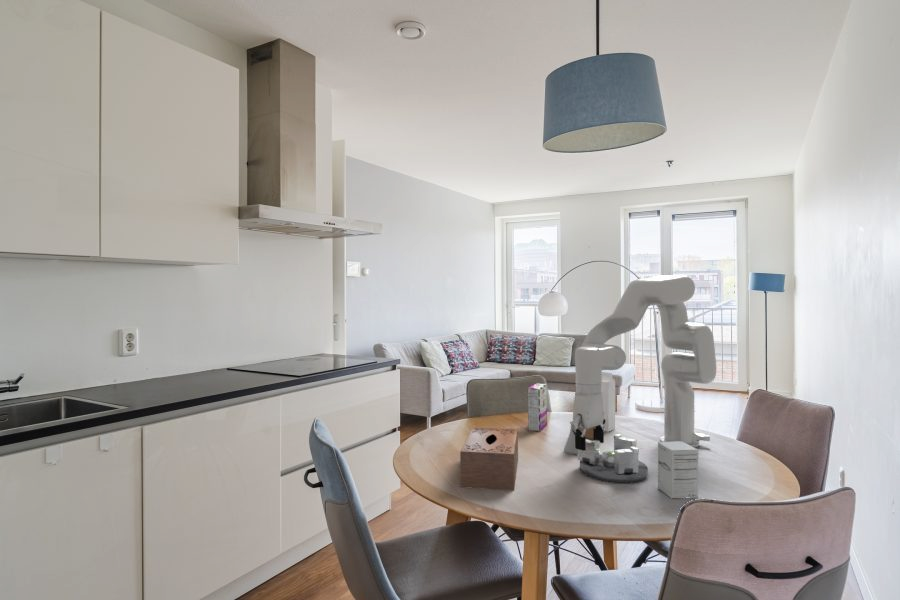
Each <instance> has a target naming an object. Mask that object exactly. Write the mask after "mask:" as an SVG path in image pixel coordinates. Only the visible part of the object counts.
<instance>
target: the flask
mask: <svg viewBox="0 0 900 600" xmlns="http://www.w3.org/2000/svg"><path fill="white" fill-rule="evenodd" d="M572 421H573V420H570V421H569V424H570V425H571V423H572ZM563 451H564V453H566V454H571V455H578V449H576V448H575V436H574V433H573V431H572V427H571V426H570V430H569V434H568V438H567V440H566V443H565V446H564V448H563Z"/></svg>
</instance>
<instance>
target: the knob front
mask: <svg viewBox="0 0 900 600" xmlns="http://www.w3.org/2000/svg"><path fill="white" fill-rule="evenodd" d="M600 445H601V443H600V441H598V440H595V441H594V440H593V441H590V440H587V439H586V450H585V451H583V450H579V449H578V454H577V461H579V462H580V461H582V462H584V463H590V464H593V465H596V464H599V455H600Z"/></svg>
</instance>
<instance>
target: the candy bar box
mask: <svg viewBox="0 0 900 600" xmlns="http://www.w3.org/2000/svg"><path fill="white" fill-rule="evenodd" d="M547 387H548V386H547V383H535V384H533V385H531V386H529V387H527V408H528V409H527V416H528V421H527V423H528V425H527V427H528V431H530V432H533V431H534V432H541V431H542V430H543V429H544V428H545V427H546V426H547V425H548V394H547V393H548V392H547V391H548V389H547Z"/></svg>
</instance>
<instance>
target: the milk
mask: <svg viewBox="0 0 900 600" xmlns="http://www.w3.org/2000/svg"><path fill="white" fill-rule="evenodd" d="M602 399H603V410H604V412H606V419H605V424H604V426H605V428H604V429H602V430H604V432H605V431H607V433H610V432H611V430H612V431H615V430H616V379H614V378H613V373H612V372H604V371H602ZM609 431H610V432H609Z"/></svg>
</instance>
